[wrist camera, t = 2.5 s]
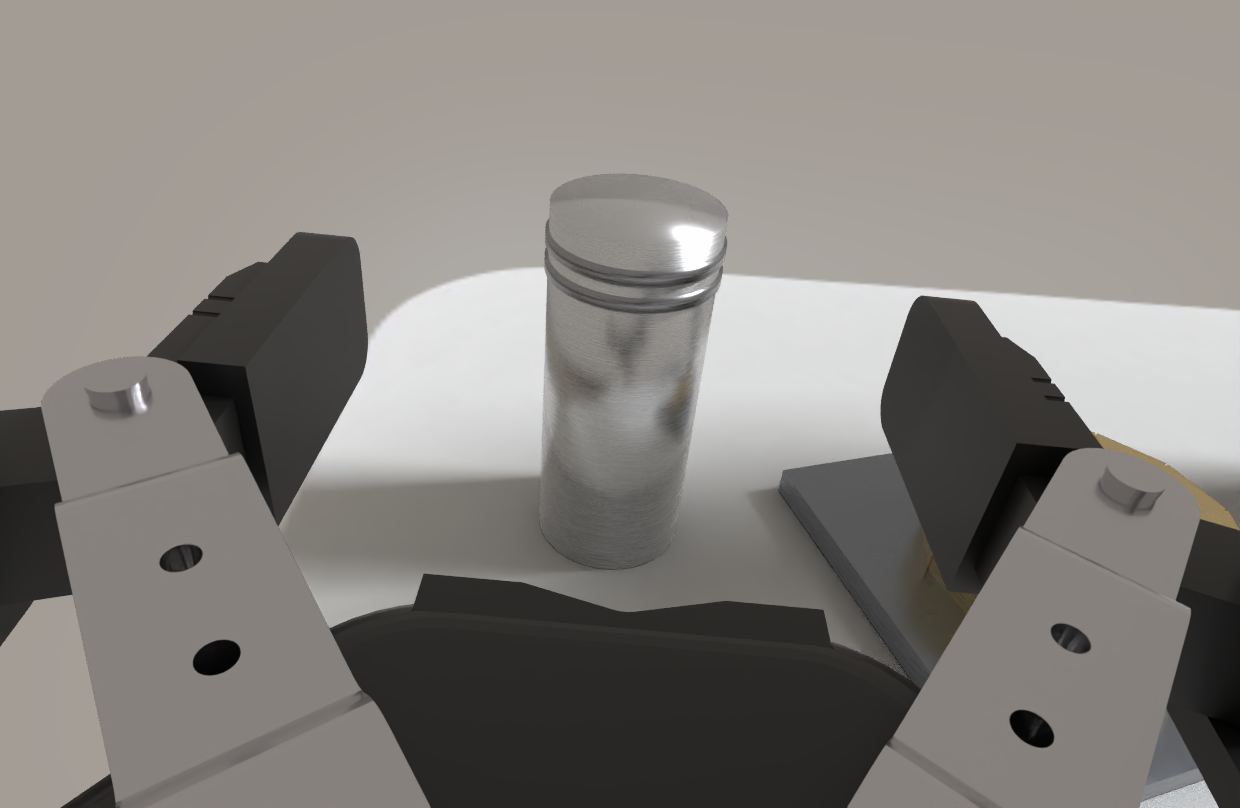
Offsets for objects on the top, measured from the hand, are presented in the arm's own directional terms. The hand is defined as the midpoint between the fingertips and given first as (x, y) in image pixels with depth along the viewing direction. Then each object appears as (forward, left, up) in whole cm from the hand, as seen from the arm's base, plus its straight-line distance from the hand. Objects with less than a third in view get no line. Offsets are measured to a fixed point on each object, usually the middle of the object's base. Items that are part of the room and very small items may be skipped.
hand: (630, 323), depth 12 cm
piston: (-4, -11, -15) cm, 18 cm away
